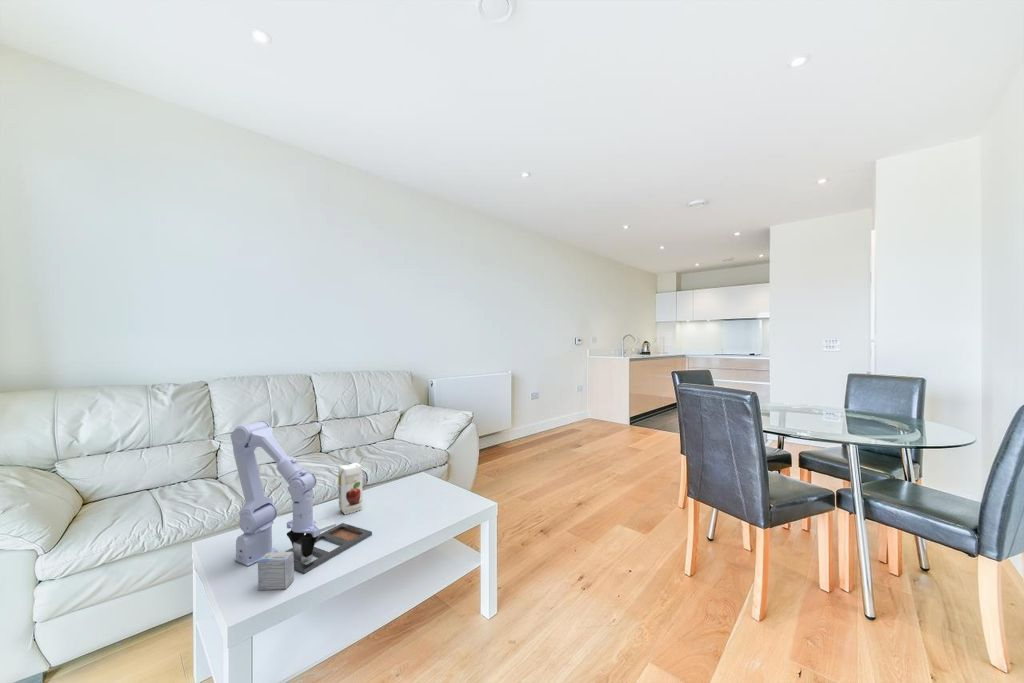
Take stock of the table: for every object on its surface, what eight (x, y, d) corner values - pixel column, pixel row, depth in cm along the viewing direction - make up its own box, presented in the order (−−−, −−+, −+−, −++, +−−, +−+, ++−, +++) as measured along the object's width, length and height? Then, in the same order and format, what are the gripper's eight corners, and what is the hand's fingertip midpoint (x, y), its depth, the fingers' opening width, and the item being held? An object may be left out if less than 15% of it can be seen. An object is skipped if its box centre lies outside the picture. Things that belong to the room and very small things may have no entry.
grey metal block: (301, 564, 118) (301, 545, 119) (293, 560, 120) (293, 542, 120) (313, 557, 122) (312, 539, 122) (305, 554, 124) (305, 536, 124)
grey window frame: (304, 573, 113) (303, 570, 113) (273, 561, 120) (273, 557, 120) (372, 534, 136) (371, 531, 136) (342, 526, 143) (342, 522, 143)
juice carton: (337, 510, 157) (336, 465, 158) (358, 504, 163) (357, 461, 163) (343, 516, 152) (342, 469, 152) (364, 510, 157) (363, 465, 158)
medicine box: (294, 580, 110) (294, 550, 110) (286, 590, 106) (285, 559, 106) (267, 581, 110) (267, 551, 110) (257, 591, 105) (257, 560, 105)
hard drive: (327, 517, 149) (293, 528, 140) (336, 523, 144) (301, 535, 134) (327, 521, 149) (293, 533, 140) (336, 527, 144) (301, 540, 134)
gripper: (328, 511, 122) (328, 552, 121) (300, 503, 128) (301, 542, 128) (307, 520, 115) (308, 564, 115) (280, 511, 122) (280, 553, 122)
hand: (303, 553), depth 121 cm, fingers open, 5 cm apart
